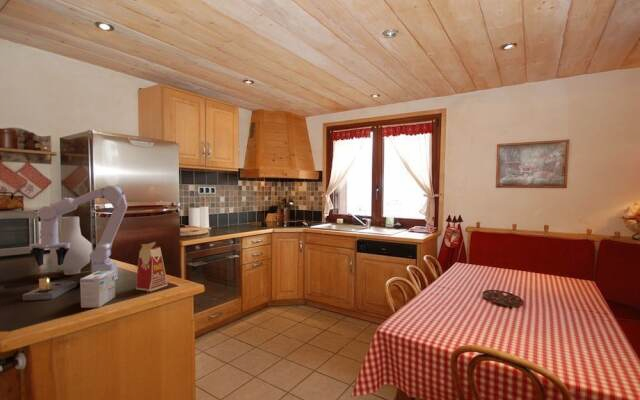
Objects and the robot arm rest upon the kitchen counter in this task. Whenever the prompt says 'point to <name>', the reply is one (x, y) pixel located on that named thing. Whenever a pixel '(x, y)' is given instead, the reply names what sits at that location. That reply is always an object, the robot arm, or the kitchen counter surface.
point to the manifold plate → (54, 292)
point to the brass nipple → (44, 285)
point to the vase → (72, 247)
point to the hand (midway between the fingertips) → (50, 264)
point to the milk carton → (150, 268)
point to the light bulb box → (97, 288)
